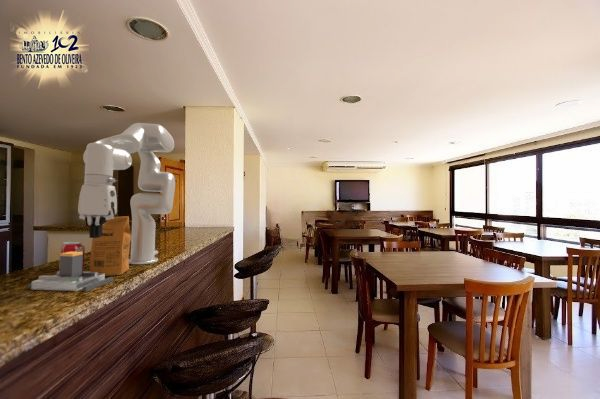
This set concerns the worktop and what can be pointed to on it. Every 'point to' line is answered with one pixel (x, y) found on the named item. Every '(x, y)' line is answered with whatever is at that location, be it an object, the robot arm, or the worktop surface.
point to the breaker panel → (66, 281)
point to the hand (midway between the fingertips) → (95, 237)
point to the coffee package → (111, 248)
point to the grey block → (71, 264)
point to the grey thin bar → (97, 284)
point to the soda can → (73, 249)
